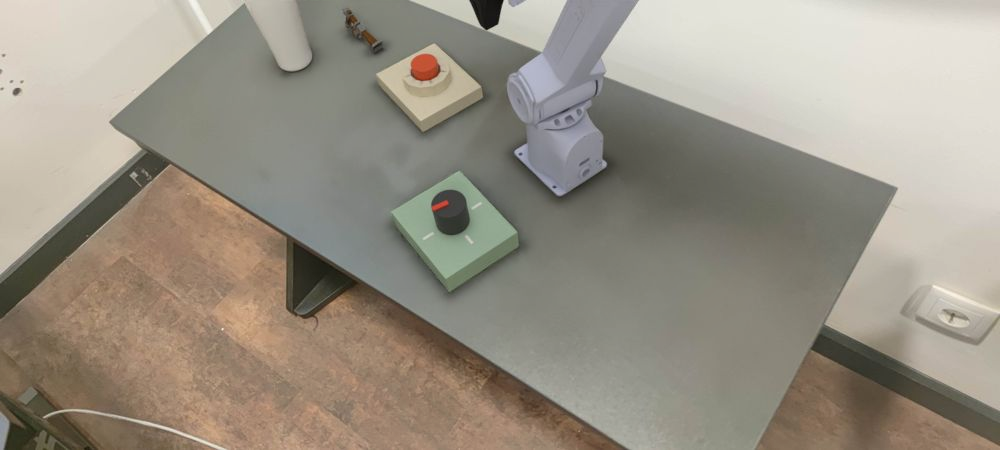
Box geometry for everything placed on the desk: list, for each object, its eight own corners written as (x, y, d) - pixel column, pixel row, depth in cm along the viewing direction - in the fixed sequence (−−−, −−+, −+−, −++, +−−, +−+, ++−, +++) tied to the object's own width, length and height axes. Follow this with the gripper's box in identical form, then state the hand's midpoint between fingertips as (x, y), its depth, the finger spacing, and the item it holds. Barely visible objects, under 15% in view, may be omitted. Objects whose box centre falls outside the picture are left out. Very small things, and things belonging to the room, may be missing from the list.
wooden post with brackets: (347, 18, 108) (348, 1, 104) (381, 56, 108) (382, 39, 104) (338, 24, 108) (338, 7, 104) (371, 62, 107) (373, 46, 103)
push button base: (483, 98, 97) (480, 76, 94) (423, 132, 94) (417, 111, 91) (436, 54, 103) (432, 32, 100) (378, 85, 101) (372, 64, 97)
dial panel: (519, 246, 82) (517, 231, 80) (449, 292, 80) (445, 278, 77) (462, 185, 89) (459, 169, 86) (395, 226, 86) (390, 210, 83)
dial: (461, 202, 83) (457, 182, 80) (475, 226, 81) (471, 206, 78) (430, 216, 82) (425, 196, 79) (443, 240, 80) (438, 221, 77)
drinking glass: (273, 50, 107) (236, -36, 95) (317, 42, 107) (285, -45, 95) (273, 80, 103) (234, -6, 91) (319, 71, 103) (285, -16, 91)
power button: (443, 73, 96) (442, 63, 94) (421, 85, 95) (419, 75, 93) (429, 59, 97) (427, 49, 96) (408, 71, 96) (405, 61, 95)
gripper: (415, -85, 82) (433, 11, 93) (486, -30, 74) (497, 67, 85) (464, -108, 84) (476, -12, 95) (538, -57, 76) (542, 42, 87)
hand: (489, 24), depth 90 cm, fingers closed
